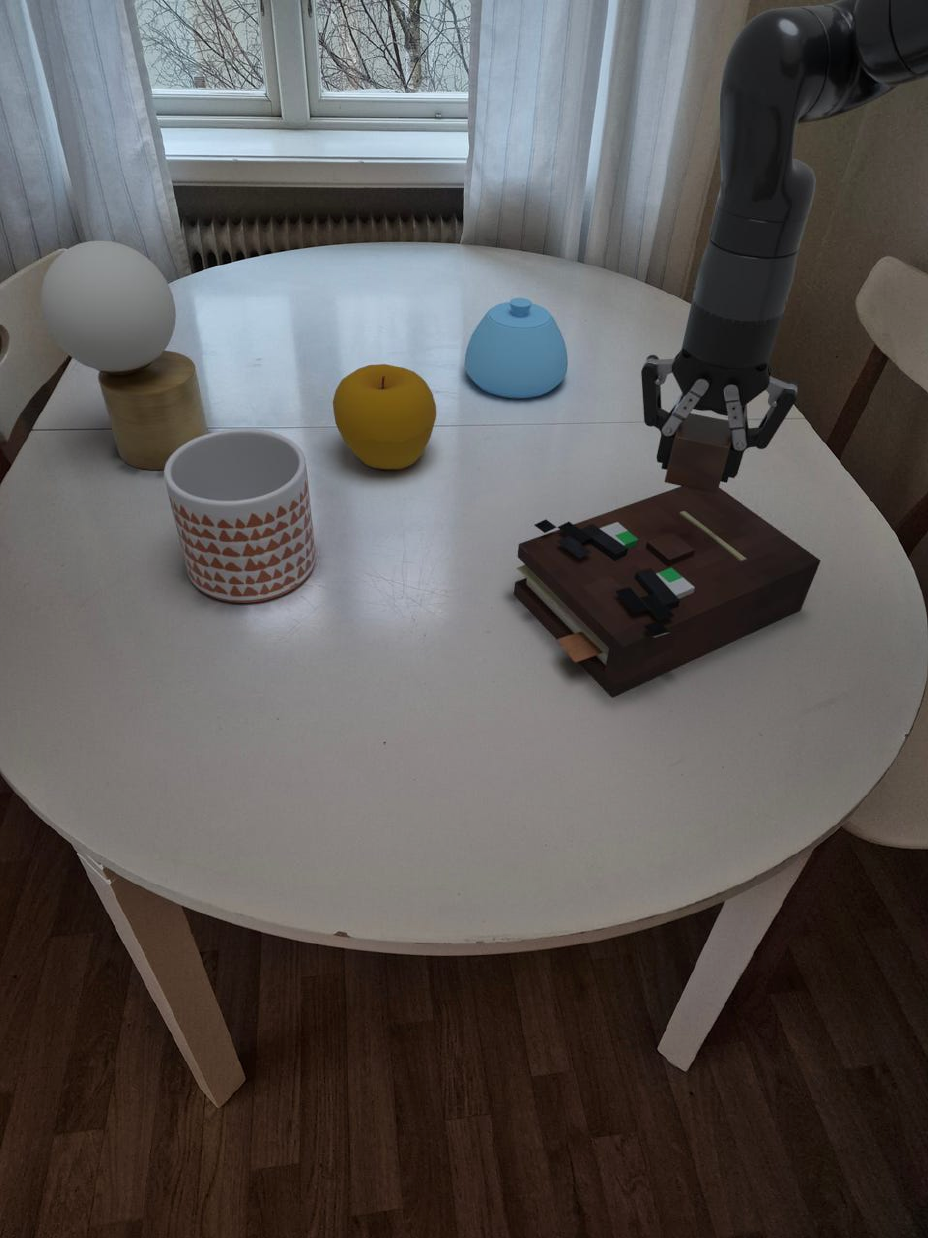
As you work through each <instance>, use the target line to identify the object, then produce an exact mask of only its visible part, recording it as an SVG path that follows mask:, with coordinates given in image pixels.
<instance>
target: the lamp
mask: <svg viewBox="0 0 928 1238" xmlns="http://www.w3.org/2000/svg"><path fill="white" fill-rule="evenodd" d="M40 300H41V301H40V304H41V305H40V306H41V311H42V315H43V319H44V322H45V324H46V327H47V329H48V331H49V333H50V335H51V337H52V338H53V339H54V341H55V342H56V343H57V345H58V346H59V348H61V349H62V350H63V351H64V352H65V353H66V354H67V355H68V356H69V357H71V358H72V359H73V360H75V361H76V362H78V363H80V364H82V365H83V366H85V367H88V368H91V369H95V370H96V371H98V375H97V380H98V384H99V387H100V388H99V389H100V391H101V394H102V398H103V403H104V406H105V409H106V411H107V416H108V419H109V423H110V426H111V431H112V434H113V437H114V440H115V444H116V449H117V452H118V456H119V457H120V458H121V460H122V461H123V462H124V463H126V464H127V465H129V466H131V467H134V468H137V469H141V470H146V471H164V469H165V465H166V463H167V461H168V459H169V458H170V456H171V455H172V454H173V453H174V452H175V451H176V450H177V449H178V448H180V447H181V446H182V445H184V444H186V443H187V442H189V441H191V440H193V439H195V438H198V437H200V436H203V435H206V434H209V430H208V425H207V420H206V419H207V418H206V415H205V409H204V404H203V399H202V395H201V388H200V383H199V377H198V374H197V373H198V372H197V369H196V365H195V363H194V361H193V360H192V359H191V358H190V357H189V356H187V355H185V354H182V353H180V352H176V351H171V350H166V349H167V347H168V345H169V344H170V343H171V341H172V338H173V336H174V335H173V334H174V331H175V327H176V318H177V314H176V313H177V312H176V303H175V299H174V295H173V292H172V290H171V287H170V285H169V283H168V281H167V279H166V278H165V276H164V275H163V274H162V271H160V268H158V267H157V266H156V265H155V263H153V262H152V261H151V260H150V259H149V258H148V257H146V256H145V255H144V254H142V253H141V252H139V251H138V250H136V249H134V248H132V247H130V246H128V245H126V244H122V243H119V242H115V241H110V240H89V241H85V242H80V243H77V244H76V245H75V244H74V245H73V246H71V247H69V248H67V249H66V250H65V251H63V252H62V253H60V254H59V255H58V256H57V257H56V258H55V259H54V261H53V262H52V263H51V264H50V266H49V267H48V269H47V271H46V273H45V276H44V278H43V282H42V286H41V291H40Z"/></svg>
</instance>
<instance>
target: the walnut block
mask: <svg viewBox="0 0 928 1238" xmlns="http://www.w3.org/2000/svg"><path fill="white" fill-rule="evenodd" d="M731 441H732V436H731V430H730V428H729V421H728V420H727V419H722V418H717V417H712V416H709V415H702V414H697V413H692V412H690V414H689V415H688V416H687V418H686V419H685V420H684V421H683V422H682V423H681V425H680V426H679V428H678V429H677V432H676V435H675V438H674V442H673V447H672V451H671V455H670V460H669V464H668V469H667V470H666V474H665V478H664V483H667V484H670V485H675V486H678V487H680V486H684V487H689V488H693V489H698V490H702V491H707V492H712V493H717V492H718V489H719V488H720V484H721V478H722V474H723V471H724V467H725V464H726V460H727V457H728V453H729V450H730V446H731Z"/></svg>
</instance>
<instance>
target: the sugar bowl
mask: <svg viewBox="0 0 928 1238" xmlns="http://www.w3.org/2000/svg"><path fill="white" fill-rule="evenodd" d="M568 360H569V359H568V350H567V345H566V341H565V339H564V336H563V334H562V331H561V329H560V328H559V326H558V323H557V322H556V320H555V319H554V317H553V315H552V313H551V312H550V311H549V310H548V309H547V308H545V307H544V306H541V305H538V304H536V303H532V301H531V300H530V299H529V298H525V297H515V298H511V299H510V300H509V301H505V302H501V303H498V304H496V305H493V306H492V307H491V308H489V310H488V311H487V312H486V313H485V314H484V316H482V318H481V320H480V321H479V323H478V324H477V325H476V327H475V329H474V330H473V331H472V334H471V335H470V338H469V341H468V343H467V346H466V350H465V354H464V368H465V371H466V373H467V375H468V376H469V378H470V379H471V380H472V381H473V382H474V383H475V385H476V386H477V387H478V388H480V389H481V390H483V391H484V392H486V393H488V394H490V395H494V396H497V397H501V398H507V399H531V398H536V397H540V396H541V397H542V396H544V395H546V394H547V393H549V392H551V391H552V390H553V389H555V388H556V387H557V386H558V385H559V384H560V383H561V382H562V381H563V380H564V379H565V376H566V375H567V372H568V367H569V361H568Z"/></svg>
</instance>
